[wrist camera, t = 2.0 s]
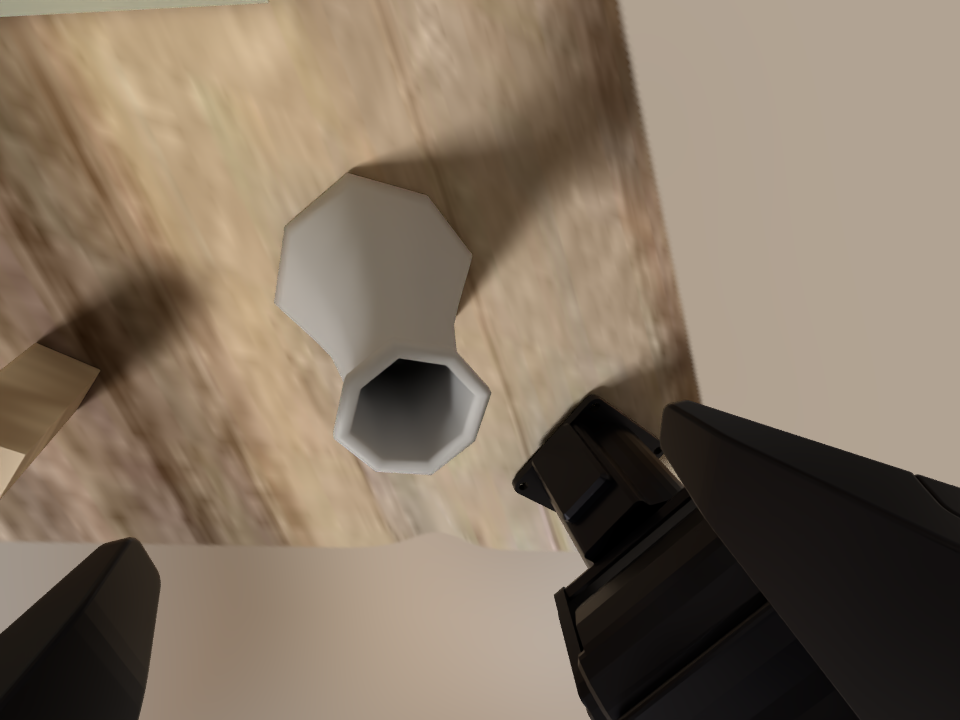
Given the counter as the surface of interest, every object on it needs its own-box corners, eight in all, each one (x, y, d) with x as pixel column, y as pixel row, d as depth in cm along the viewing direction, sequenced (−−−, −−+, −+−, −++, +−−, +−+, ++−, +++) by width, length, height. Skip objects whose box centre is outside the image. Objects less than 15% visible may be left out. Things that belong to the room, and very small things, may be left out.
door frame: (367, -65, 14) (383, -143, 10) (75, 411, 18) (-6, 505, 13) (304, -132, 13) (292, -250, 9) (10, 386, 17) (-99, 480, 13)
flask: (335, 131, 16) (341, 154, 8) (501, 245, 19) (635, 351, 11) (239, 308, 18) (155, 491, 9) (406, 385, 21) (458, 573, 13)
